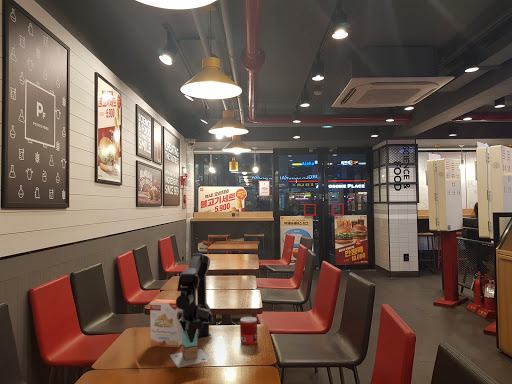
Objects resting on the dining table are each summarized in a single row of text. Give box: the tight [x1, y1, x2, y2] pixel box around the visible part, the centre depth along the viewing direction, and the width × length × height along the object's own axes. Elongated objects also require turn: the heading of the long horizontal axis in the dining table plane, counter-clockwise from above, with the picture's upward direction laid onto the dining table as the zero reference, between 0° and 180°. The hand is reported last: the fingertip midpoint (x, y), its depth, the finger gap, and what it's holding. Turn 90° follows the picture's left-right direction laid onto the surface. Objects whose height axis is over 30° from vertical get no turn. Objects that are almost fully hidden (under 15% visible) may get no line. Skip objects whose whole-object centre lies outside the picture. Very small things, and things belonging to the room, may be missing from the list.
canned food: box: [239, 316, 258, 346], centre depth 171 cm, size 8×8×11 cm
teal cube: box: [182, 331, 198, 347], centre depth 153 cm, size 5×5×5 cm
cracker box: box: [149, 298, 183, 348], centre depth 169 cm, size 14×6×21 cm, turn 76°
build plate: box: [169, 348, 212, 369], centre depth 153 cm, size 14×14×1 cm
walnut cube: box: [181, 344, 198, 361], centre depth 153 cm, size 5×5×5 cm
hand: (189, 340), depth 153 cm, fingers open, 5 cm apart
